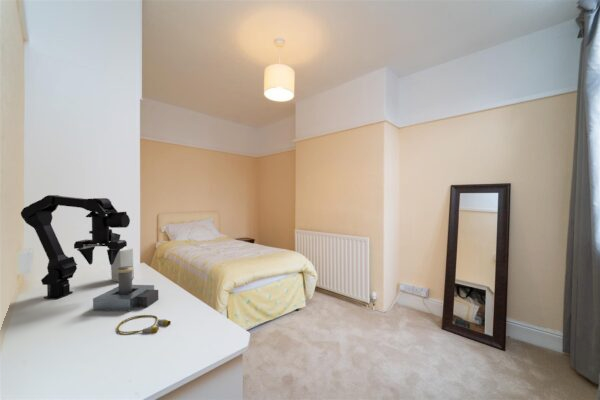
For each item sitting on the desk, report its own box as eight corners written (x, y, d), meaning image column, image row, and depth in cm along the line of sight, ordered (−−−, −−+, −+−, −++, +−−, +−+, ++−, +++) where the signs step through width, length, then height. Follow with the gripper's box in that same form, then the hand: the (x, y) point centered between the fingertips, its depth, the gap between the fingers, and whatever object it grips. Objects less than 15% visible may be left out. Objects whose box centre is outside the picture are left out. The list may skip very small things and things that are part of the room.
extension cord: (130, 345, 71) (130, 338, 71) (110, 327, 80) (110, 321, 80) (173, 327, 80) (173, 321, 80) (151, 313, 90) (151, 307, 90)
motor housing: (93, 310, 90) (92, 298, 90) (122, 295, 104) (122, 284, 104) (140, 311, 90) (140, 299, 89) (163, 295, 104) (163, 285, 103)
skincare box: (134, 278, 124) (134, 248, 124) (120, 283, 118) (119, 251, 118) (124, 276, 128) (124, 246, 127) (110, 280, 122) (109, 249, 121)
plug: (117, 306, 94) (116, 270, 94) (119, 301, 98) (119, 266, 98) (131, 303, 96) (131, 268, 96) (133, 299, 100) (133, 265, 100)
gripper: (135, 225, 112) (135, 259, 112) (95, 225, 112) (96, 259, 113) (116, 229, 100) (116, 266, 101) (72, 228, 101) (73, 266, 102)
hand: (101, 264), depth 104 cm, fingers open, 9 cm apart
